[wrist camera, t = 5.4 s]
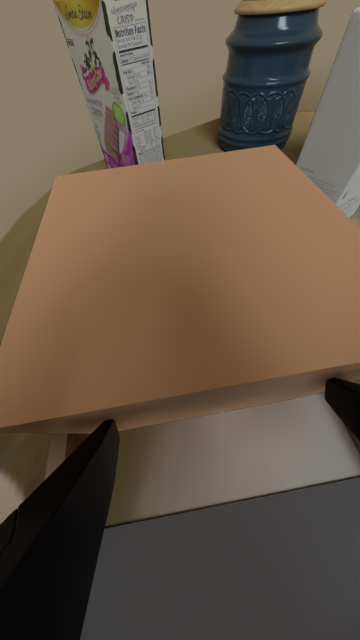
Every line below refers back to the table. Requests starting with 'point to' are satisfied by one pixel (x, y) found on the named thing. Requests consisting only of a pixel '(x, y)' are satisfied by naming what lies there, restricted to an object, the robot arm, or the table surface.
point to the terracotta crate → (180, 295)
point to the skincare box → (338, 128)
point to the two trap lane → (230, 568)
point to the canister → (266, 71)
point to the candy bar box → (116, 75)
